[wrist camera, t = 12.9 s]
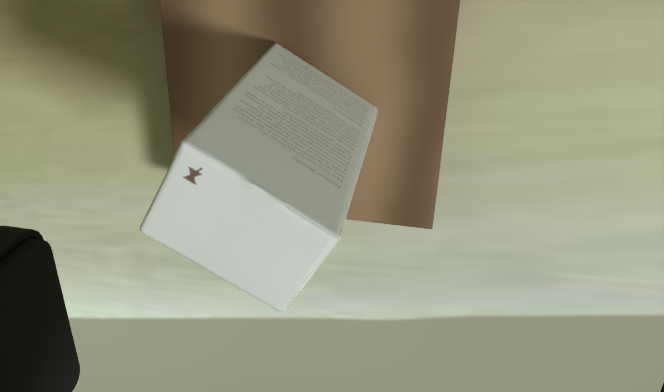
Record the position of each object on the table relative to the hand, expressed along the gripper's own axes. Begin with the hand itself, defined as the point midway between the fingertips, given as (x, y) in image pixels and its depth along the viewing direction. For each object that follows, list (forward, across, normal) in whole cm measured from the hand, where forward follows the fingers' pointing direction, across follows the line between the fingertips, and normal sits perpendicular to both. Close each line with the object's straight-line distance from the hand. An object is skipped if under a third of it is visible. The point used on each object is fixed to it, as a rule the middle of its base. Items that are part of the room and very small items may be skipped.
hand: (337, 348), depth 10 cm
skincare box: (+22, +6, +5) cm, 23 cm away
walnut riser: (+25, +6, +5) cm, 26 cm away
